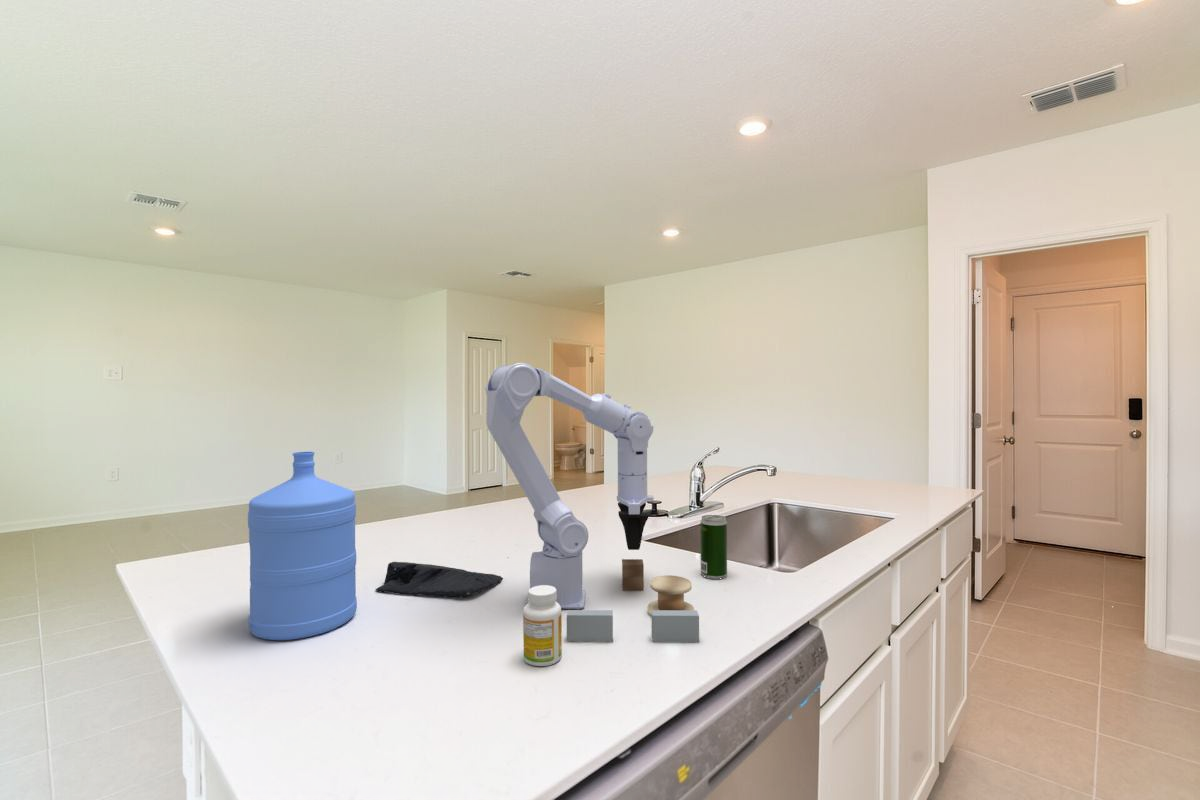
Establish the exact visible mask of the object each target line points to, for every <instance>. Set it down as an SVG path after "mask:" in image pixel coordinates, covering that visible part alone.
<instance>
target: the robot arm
mask: <svg viewBox="0 0 1200 800" xmlns="http://www.w3.org/2000/svg"><path fill="white" fill-rule="evenodd" d="M485 393H486V394H485V395H486V422H485V423H486V426H487V430H488V431H489V433H490V435H491V436H492V439H494V441H495V444H496V445H497V447H498V448H499V450H500V453H501V454H502V456H503V457H504V459H505V461H506V463H507V464H508V466H509V468H510V470H511V472H512V474H513V475H514V477H515V479H516V480H517V482H518V484H519V486H520V487H521V489H522V491H523V493H524V495H525V496H526V498H527V500H528V502H529V503H530V505H531V507H532V509H533V517H534V519H535V521H536V523H537V533H538V537H539V538H540V539H541V540H542V542H543V544H542V550H541V551H533V552H532V553H531V556H530V566H529V589H530V588H532V587H535V586H540V585H549V586H553V587H555V588H556V592H557V598H556V601H555V602H557V603H558V604H559V605H560V606H561V610H562V609H564V610H565V609H566V610H583V609H584V607H585V602H586V601H585V600H586V594H587V593H586V590H584V589H583V551H584V549H585V548H586V546H587V544H588V542H589V530H588V527H587V526H586V525H585V523H584V522H582V521H581V520H579V519H578V518H577V517H576V516H575V515H574V513H573V511H572V510H571V508H570V507H569V506H568V505H566V502H564V501H563V500H562V498H561V497H560V495H559V493H558V492H557V491H558V490H557V489H556V487H555V486H554V484H553V483H552V481H551V479H550V477H549V475H548V473H547V472H546V470H545V468H544V466H543V465H542V463H541V460H540V459H539V456H538V455H537V453H536V451H535V449H534V448H533V445H532V444H531V441H529V439H528V436H527V435H526V433H525V431H524V429H523V427H522V426H521V424H520V423H521V419H522V417H523V415H524V411H525V410H526V408H527V406H528V405H529V404H530V403H531V401H532V400H533V398H535V397H548V398H550V399H553V400H554V401H557V402H559V403H562V404H564V405H566V406H568V407H570V408H573V409H575V410H577V411H580V412H581V413H582V416H583V419H584V421H585V422H587V423H589V424H591V425H593V426H596V427H597V428H600V429H602V430H605V431H606V432H608V433H610V434H612V435H613V436H614V437H615V439H616V440H617V496H616V501H617V507H618V508H619V510H618V518H619V519H620V521H621V523H622V526H623V530H624V535H625V540H626V541H625V542H626V546H627V549H628V550H629V551H635V550H636V551H640V549H641V543H642V538H643V533H644V529H645V526H646V523H647V521H648V519H649V517H650V513H649V512H644V509H645V508H646V505H647V504H646V503H647V502H648V501H650V502H651V501H654V495H651V494H649V495H648V448H649V440H650V438H651V437H652V435H653V432H654V426H653V425H652V423H651V419H650V418H649V417H648V416H647V414H646V413H644V412H640V411H632V409H631V406H630V405H628V404H624V405H623V404H621V403H619V402H617V401H615V400H613V399H611V398H612V395H610V394H608V393H606V392H604V393H602V394H601V393H595V394H592V395H591V396H590V395H589V394H587V393H585V392H583V391H582V390H580V389H578V388H577V387H575V386H573V385H571V384H569V383H567V382H566V381H564V380H562V379H560V378H558V377H556V376H554V375H553V374H551V373H549V372H547V370H543V369H541V368H538V367H535V368H534V367H533V365H531V364H529V363H525V362H517V363H515V364H510V365H508V364H507V365H505V364H504V365H501V366H498V367H496V368H495V369H494V370H493V371H492V372H491V374H490V376H489V379H488V380H487V383H486V386H485Z"/></svg>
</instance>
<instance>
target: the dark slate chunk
mask: <svg viewBox="0 0 1200 800" xmlns="http://www.w3.org/2000/svg"><path fill="white" fill-rule="evenodd" d="M386 568H387V569H386V574H385V578H384V583H383V584H382V585H380V586H378V587H377V588H375V591H377V592H378V593H391V594H397V595H407V596H427V597H435V598H438V597H441V598H449V599H450V598H451V599H452V598H454V599H456V598H457V599H460V598H463V599H464V598H468V597H471V596H473V595H475V594H476V593H479V592H482V591H484V590H486V589H489V588H491V587H493V586H496V585H498V584H500V583H501V582H502V581H503V579H504V578H503V577H502V576H501V575H497V574H494V573H493V574H492V573H483V572H477V571H476V572H475V571H468V570H465V569H462V568H455V567H449V566H443V565H437V564H427V563H416V562H408V561H406V562H405V561H392V562H389V563H388V564H387V567H386Z"/></svg>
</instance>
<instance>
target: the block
mask: <svg viewBox="0 0 1200 800" xmlns="http://www.w3.org/2000/svg"><path fill="white" fill-rule="evenodd" d="M621 561H622V562H621V571H622V572H621V581H622V582H621V583H622V584H621V587H622V591H623V592H644V589H645V588H644V587H645V586H644V585H645V583H644V581H645V579H644V578H645V577H644V574H645V572H644V568H645V567H644V566H645V565H644V560H643V559H640V558H639V559H638V558H636V559H635V558H634V559H633V558H631V559H628V558H625V559H623V558H622V560H621Z"/></svg>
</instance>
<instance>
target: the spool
mask: <svg viewBox="0 0 1200 800" xmlns="http://www.w3.org/2000/svg"><path fill="white" fill-rule="evenodd" d="M649 583H650V584H649V585H650V586H649V587H650V589H651V590H652V591H654V592H656V593H657V599H655V600H653V601H651V602H649V604H648V605H647V610H646V612H647V614H648V616H649V617H650V618H652V610H696V609H695V607H694V605H692V604H691V603H690V602H687V601H685V599H684V598H685V595H684V594H687V593H688V592H690V591H691V590H692V586H693V585H692V581H691V580H690V579H688V578H687V577H683V576H679V575H667V574H666V575H658V576H655V577H652V578H651V580H650V581H649Z"/></svg>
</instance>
